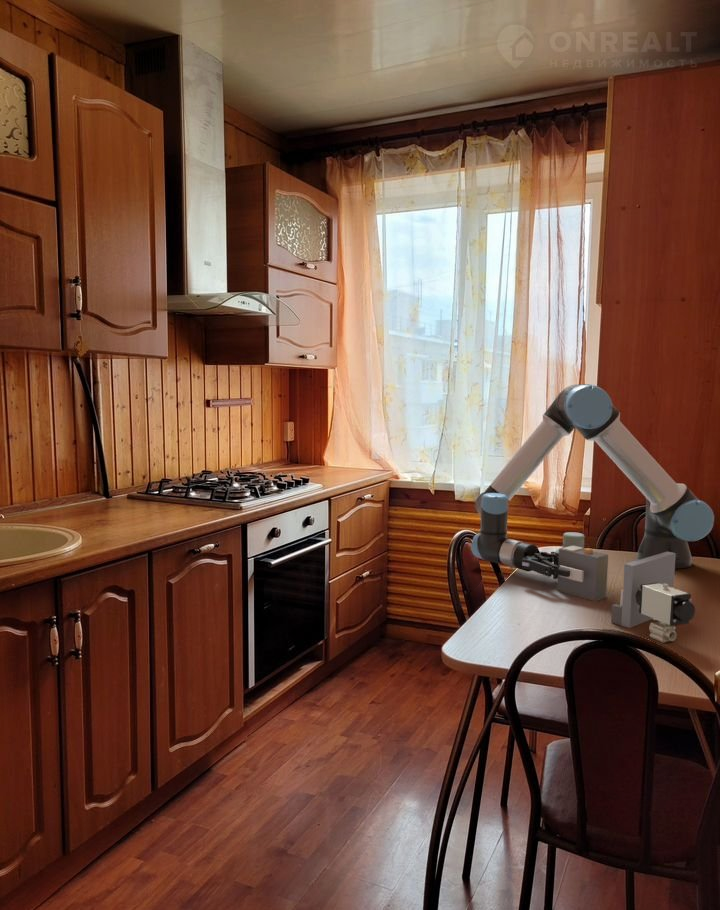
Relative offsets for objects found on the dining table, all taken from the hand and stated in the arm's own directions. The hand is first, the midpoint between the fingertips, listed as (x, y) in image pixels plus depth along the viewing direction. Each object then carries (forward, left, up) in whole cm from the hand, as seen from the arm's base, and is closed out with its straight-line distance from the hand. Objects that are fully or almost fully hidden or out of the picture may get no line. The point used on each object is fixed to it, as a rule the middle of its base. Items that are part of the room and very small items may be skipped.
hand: (593, 573), depth 176 cm
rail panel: (+4, +16, -6) cm, 17 cm away
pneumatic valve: (+14, +26, -6) cm, 30 cm away
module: (0, -3, -6) cm, 7 cm away
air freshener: (-20, -19, -6) cm, 28 cm away
